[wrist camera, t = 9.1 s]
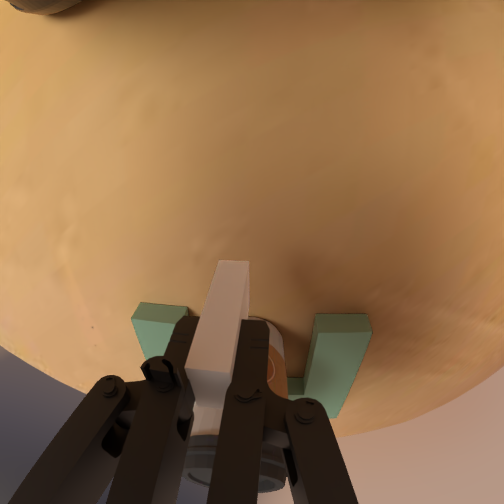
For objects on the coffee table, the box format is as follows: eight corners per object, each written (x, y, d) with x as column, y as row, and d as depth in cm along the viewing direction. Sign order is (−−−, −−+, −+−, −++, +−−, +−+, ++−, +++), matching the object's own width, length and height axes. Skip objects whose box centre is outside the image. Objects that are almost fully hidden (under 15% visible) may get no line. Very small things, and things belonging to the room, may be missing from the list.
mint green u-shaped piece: (140, 302, 27) (128, 322, 24) (366, 313, 25) (374, 336, 22) (170, 392, 34) (165, 410, 32) (334, 402, 33) (336, 422, 30)
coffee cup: (303, 314, 26) (309, 474, 13) (282, 368, 30) (276, 497, 17) (212, 298, 26) (166, 454, 13) (207, 355, 30) (175, 482, 17)
